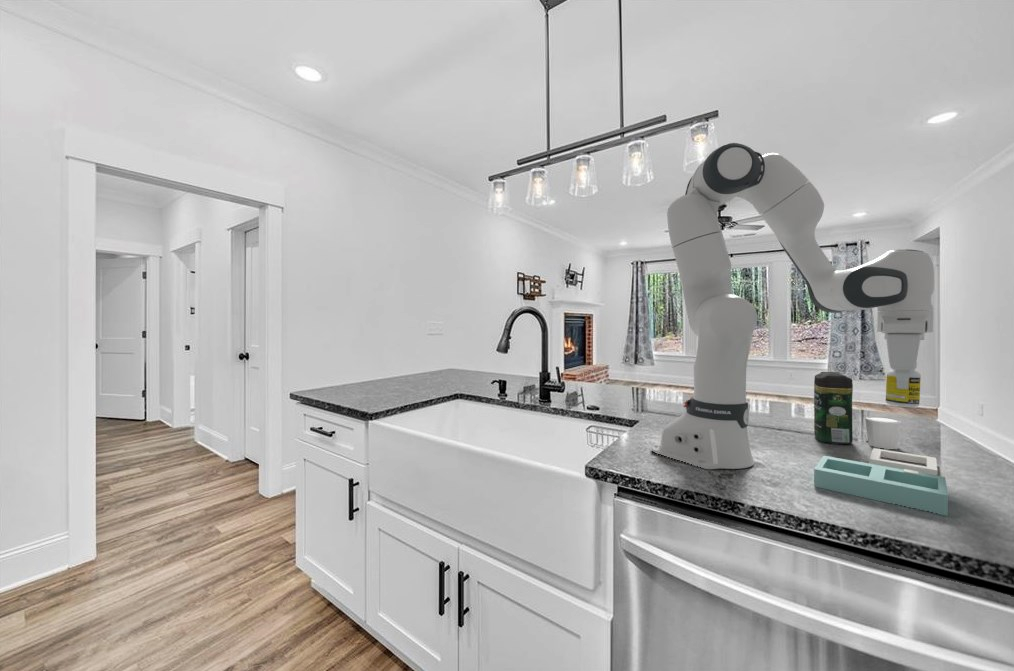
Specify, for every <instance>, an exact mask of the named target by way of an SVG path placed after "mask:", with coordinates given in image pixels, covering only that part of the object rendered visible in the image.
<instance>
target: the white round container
mask: <svg viewBox="0 0 1014 671" xmlns="http://www.w3.org/2000/svg"><path fill="white" fill-rule="evenodd" d="M901 426H902V421H901V420H900V419H897V418H896V419H895V418H889V417H886V416H885V417H884V416H866V417H865V427H866V434H867V442H868V444H869V445H868V446H870V445H871V446H870V447H872V446H874V447H873V448H876V447H878V448H877V449H880V448H884V449H883V450H889V449H896V450H898V448H899V443H900V442H899V440H900V437H901V436H900V435H901Z"/></svg>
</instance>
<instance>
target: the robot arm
mask: <svg viewBox="0 0 1014 671" xmlns="http://www.w3.org/2000/svg"><path fill="white" fill-rule="evenodd" d="M735 198H741V199H743V200H745V201H747V202H748V203H750V205H752V206H753V208H754V209H755V211H756V212H757V213H758V214H759V215H760V217H761V218H762V219H763V220H764V221H765V223H766V224H767V225H768V227H769V228H770V230H771V231H772V232H773V233H774V235H775V237H776V238H777V240H778V242H779V243H780V245H781V247H782V249H783V250H784V252H785V253H786V255H787V257H788V258H789V259H790V260H791V263H792V264H793V265H794V267H795V268H796V269H797V271H798V273H799V274H800V275H801V277H802V279H803V280H804V282H805V284H806V288H807V291H808V296H809V299H810V301H811V303H812V304H813V305H814V307H816V308H817V309H819V310H821V311H822V312H826V313H828V314H829V313H831V314H832V313H833V314H835V313H842V312H847V311H849V312H850V311H852V312H853V311H861V310H872V309H875V308H877V320H876V322H877V324H876V325H877V326H876V331H877V333H883V334H884V340H886V341H885V342H886V346H887V355H888V356H887V357H888V364H889V367H890V369H891V370H892V369H896V379H897V388H899V389H908V381H909V374H910V370H914V368H915V365H916V362H917V360H918V355H919V349H920V344H921V341H924V340H925V334H928V333H933V332H934V309H935V308H934V305H933V303H932V296H933V293H934V291H935V271H934V270H935V269H934V264H933V260H932V258H931V256H930V255H929V254H928V253H927V252H925V251H922V250H919V249H908V248H907V249H892V250H888V251H885V252H884V253H883V254H881V256H879V257H877V258H875V259H873V260H870V261H868V262H866V263H863V264H859V265H858V266H855V267H852V268H848V269H843V270H842V269H840V268H837V267H836V266H834V265H833V264H832V263H831V261H830V260H829V259H828V257H827V255H826V254H825V252H824V251H823V249H822V248H821V246H820V245H819V244H818V242H817V240H816V236H815V234H816V232H815V231H816V228H817V226H818V223H819V222H820V221H821V219H822V217H823V213H824V209H825V203H824V200H823V198H822V196H821V194H820V192H819V190H817V188H816V187H815V186H814V184H813V183H812V181H810V180H809V178H808V177H806V175H805V174H804V173H803V172H802V171H801V170H800V169H799V168H798V167H796V166H795V165H794V164H793V163H792V162H791V161H789V160H788V159H787V158H785V157H784V156H783V155H781V154H779V153H775V152H771V153H767V154H766V153H765V154H764V155H762V153H760V152H758V151H755V150H754V149H752V148H751V147H749V146H747V145H746V144H742V143H738V142H730V143H725V144H723V145H721V146H719V147H717V148H716V149H714V150H713V151H712V152H711V153H710V154H709V155H708V156H707V157H706V159H705V160H704V161H702V162H701V163H700V164H699V166H697V168H696V170H695V171H694V173H693V175H692V176H691V177H690V179H689V181H688V183H687V186H686V190H685V194H684V195H682V196H680V197H678V198H676V199H675V200H673V202H672V203H671V204H670V205H669V207H668V208H667V212H666V214H667V215H666V216H667V227H668V234H669V240H670V244H671V248H672V251H673V255H674V259H675V262H676V266H677V268H678V273H679V277H680V280H681V287H682V291H683V299H684V304H685V308H686V310H685V311H686V315H687V319H688V325H689V327H690V329H691V331H692V333H693V334H695V335H696V337H698V342H697V348H696V355H695V356H696V357H695V361H694V364H693V396H692V397H690V398H689V399H688V400H686V401H685V402H683V404H684V405H683V407H684V408H685V412H684V413H683V414H682V415H680V416H678V417H676V418H674V420H672V421H671V422H669V423H667V424H666V425H665V426H664V427H663V430H662V432H661V438H660V440H659V441H657V442H655V443H654V444H652V446H651V452H652V451H654V452H657V453H659V454H662V455H664V456H667V457H666V458H668V457H670V458H669V459H671V458H673V459H672V460H674V459H677V460H680V461H679V462H681V461H683V462H682V463H684V462H686V463H685V464H687V463H689V464H688V465H691V464H692V466H694V467H697V466H698V467H697V468H700V467H701V469H705V470H717V469H718V470H719V469H728V470H730V469H731V470H733V469H734V470H735V469H737V470H738V469H739V470H740V469H746V468H750V467H753V466H754V465H755V461H754V458H753V455H752V450H751V447H750V440H749V434H748V433H749V432H748V426H749V423H750V413H749V412H750V409H749V402H748V401H747V366H748V360H749V355H750V352H751V345H752V339H753V333H754V331H755V330H756V327H757V326H758V318H759V317H758V312H757V309H756V308H755V307H754V305H753V304H752V303H751V302H750V301H748V300H747V299H745V298H743V296H739V295H737V294H733V289H732V288H733V286H732V278H731V277H732V276H731V275H732V274H731V270H732V262H731V258H730V255H729V252H728V247H727V245H726V240H725V238H724V235H723V232H722V228H721V225H720V222H719V217H718V216H719V215H718V211H719V209H720V208H722V207H723V206H724V205H725V204H726V203H727V202H728V203H729V202H730V201H732V200H733V199H735ZM915 369H916V368H915ZM664 456H663V457H664ZM677 460H676V461H677Z"/></svg>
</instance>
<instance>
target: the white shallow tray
mask: <svg viewBox="0 0 1014 671" xmlns="http://www.w3.org/2000/svg"><path fill="white" fill-rule="evenodd" d="M872 448H873V449H872V451H871V454H870V456H869V462H868V463H869V464H874V465H880V466H886V467H891V468H897V469H903V470H904V469H907V470H913V471H918V472H920V473H926V474H931V475H937V476H938V465H937V464H938V463H937V457H933V456H927V455H920V454H914V453H907V452H901V451H894V450H889V449H880V448H876V447H872ZM883 458H884V459H883ZM895 460H897V461H895ZM901 461H904V462H901ZM906 462H909V463H906ZM913 463H914V464H913ZM924 465H925V466H924Z"/></svg>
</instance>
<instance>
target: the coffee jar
mask: <svg viewBox="0 0 1014 671" xmlns="http://www.w3.org/2000/svg"><path fill="white" fill-rule="evenodd" d="M853 384H854V383H853V379H852V378H851V377H849V376H847V375H845V374H842V373H840V372H838V371H821V372H820V373H817V374H815V375H814V382H813V409H814V410H813V417H814V418H813V419H814V422H813V430H814V432H813V433H814V436H815V438H816V439H817V440H818V441H820V442H823V443H829V444H832V445H838V444H840V446H841V445H851V444H852V443H853V438H854V436H853V391H854V389H853V388H854V385H853Z"/></svg>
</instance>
